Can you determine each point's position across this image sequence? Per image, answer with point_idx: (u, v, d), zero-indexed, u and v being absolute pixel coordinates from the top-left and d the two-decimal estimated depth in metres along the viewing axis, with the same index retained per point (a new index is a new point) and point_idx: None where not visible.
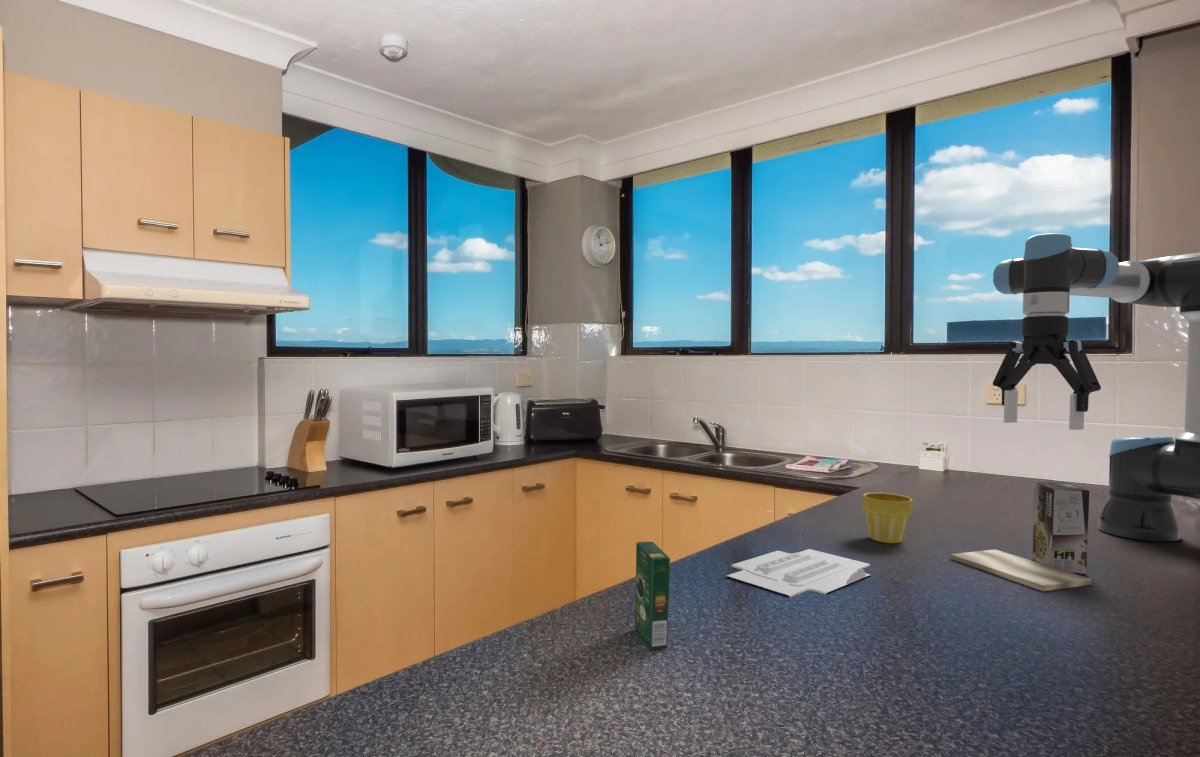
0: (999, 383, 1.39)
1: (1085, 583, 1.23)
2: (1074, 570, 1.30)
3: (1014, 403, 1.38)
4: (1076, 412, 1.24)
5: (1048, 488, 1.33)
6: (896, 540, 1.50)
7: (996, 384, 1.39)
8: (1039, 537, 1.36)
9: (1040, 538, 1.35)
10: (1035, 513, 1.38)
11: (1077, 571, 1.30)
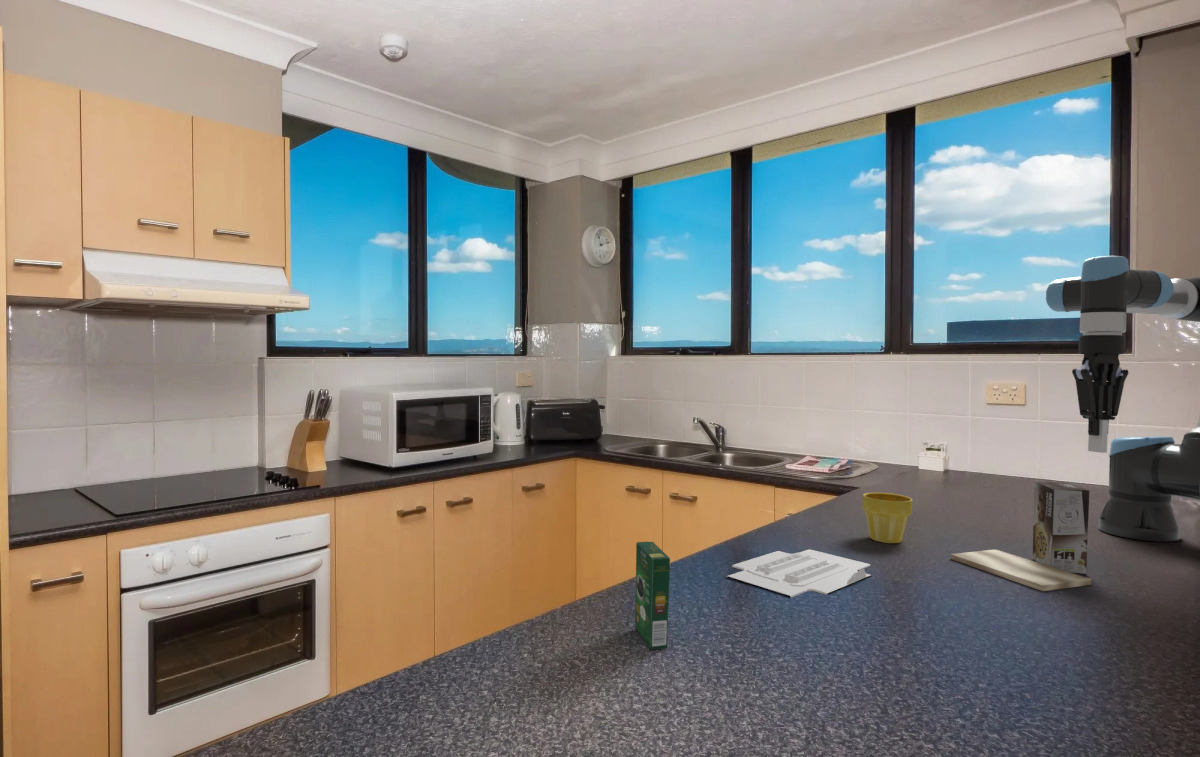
0: (1102, 412, 1.38)
1: (1085, 583, 1.23)
2: (1074, 570, 1.30)
3: None
4: (1092, 435, 1.37)
5: (1048, 488, 1.33)
6: (896, 540, 1.50)
7: None
8: (1039, 537, 1.36)
9: (1040, 538, 1.35)
10: (1035, 513, 1.38)
11: (1077, 571, 1.30)
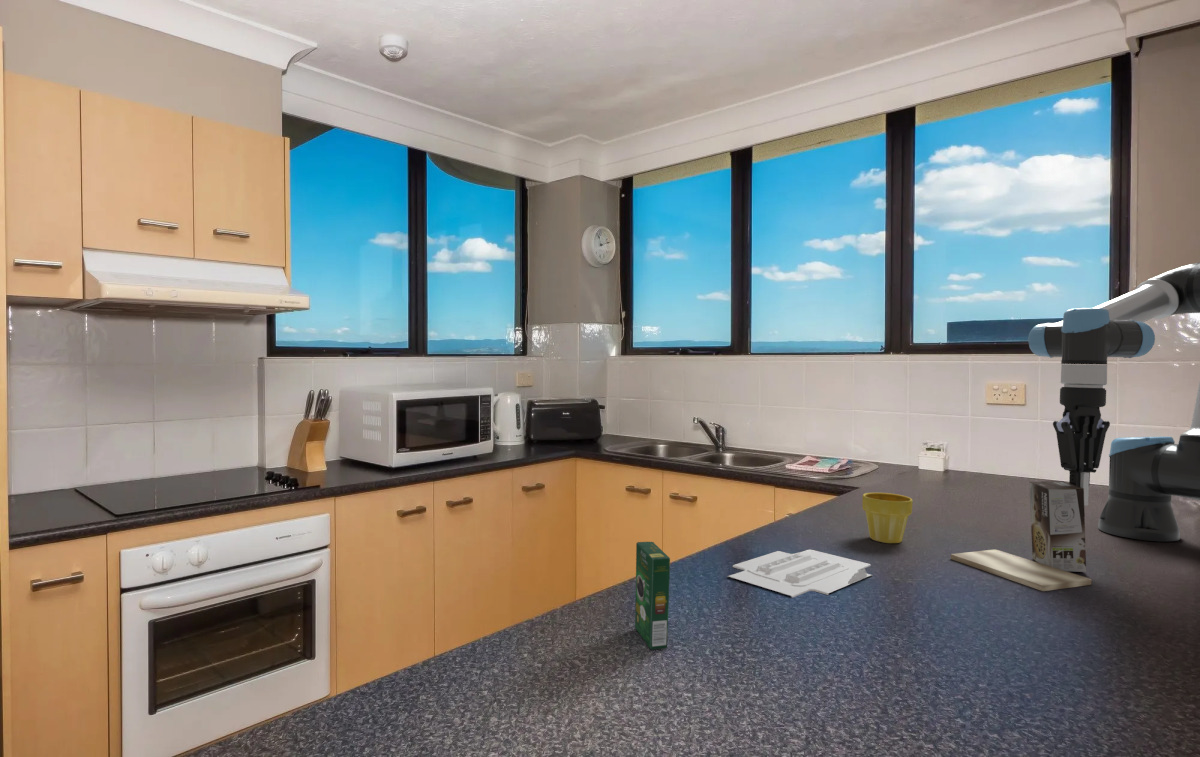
0: (1084, 464, 1.37)
1: (1085, 583, 1.23)
2: (1074, 569, 1.30)
3: None
4: None
5: (1043, 488, 1.33)
6: (896, 540, 1.50)
7: None
8: (1037, 537, 1.36)
9: (1039, 538, 1.35)
10: (1032, 513, 1.38)
11: (1077, 570, 1.30)
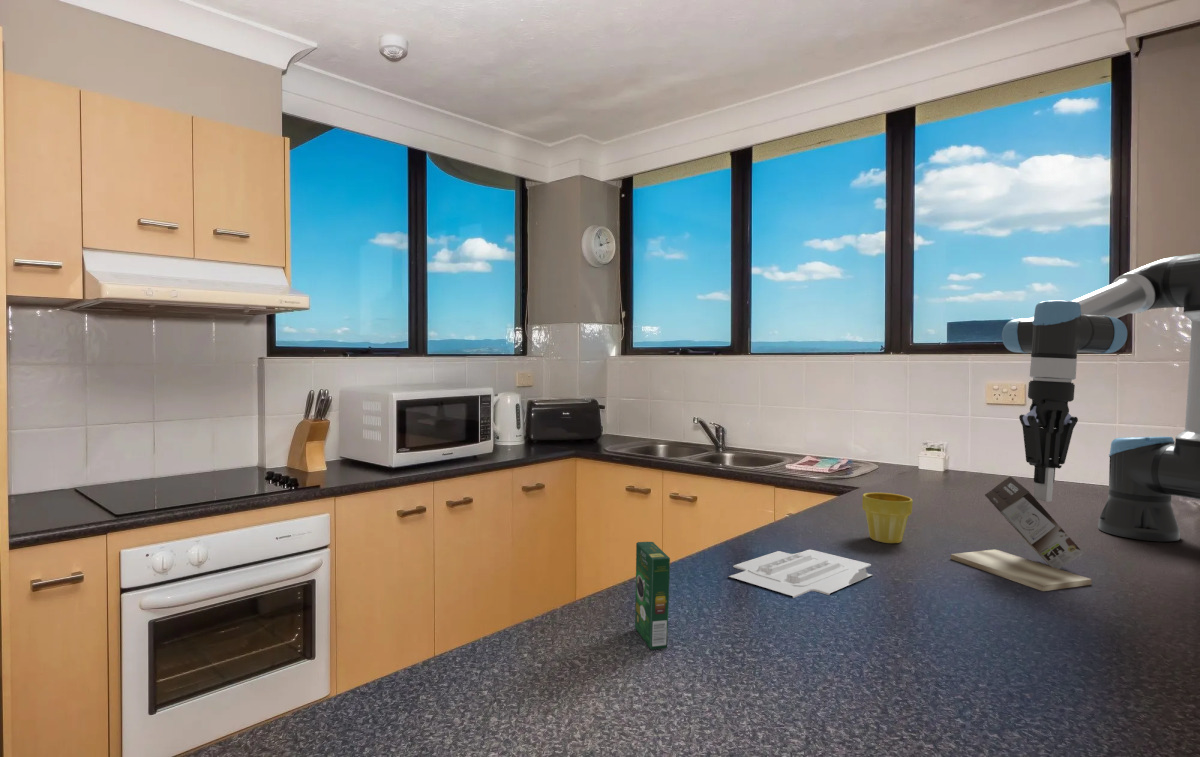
0: None
1: (1085, 583, 1.23)
2: (1072, 558, 1.30)
3: None
4: (1038, 483, 1.34)
5: (997, 507, 1.32)
6: (896, 540, 1.50)
7: None
8: None
9: None
10: None
11: (1075, 557, 1.29)
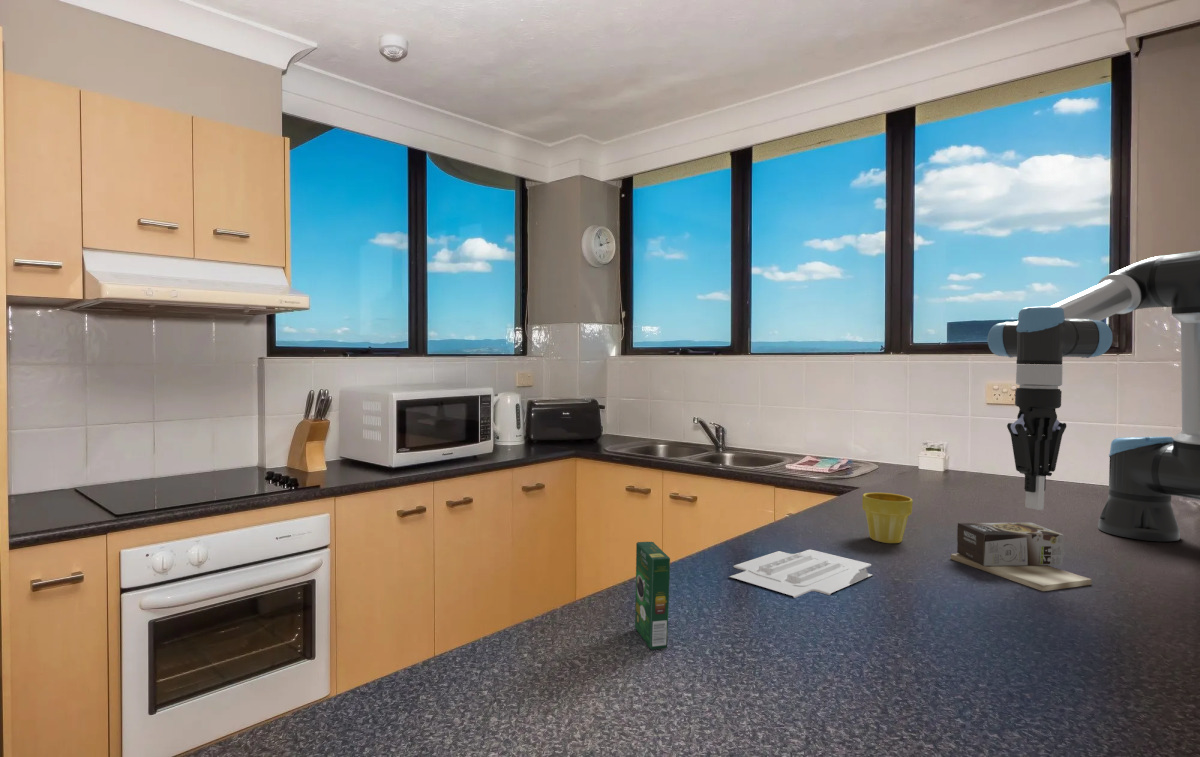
0: None
1: (1085, 583, 1.23)
2: (1061, 545, 1.31)
3: None
4: (1029, 491, 1.32)
5: (977, 562, 1.33)
6: (896, 540, 1.50)
7: None
8: None
9: None
10: None
11: (1062, 543, 1.31)
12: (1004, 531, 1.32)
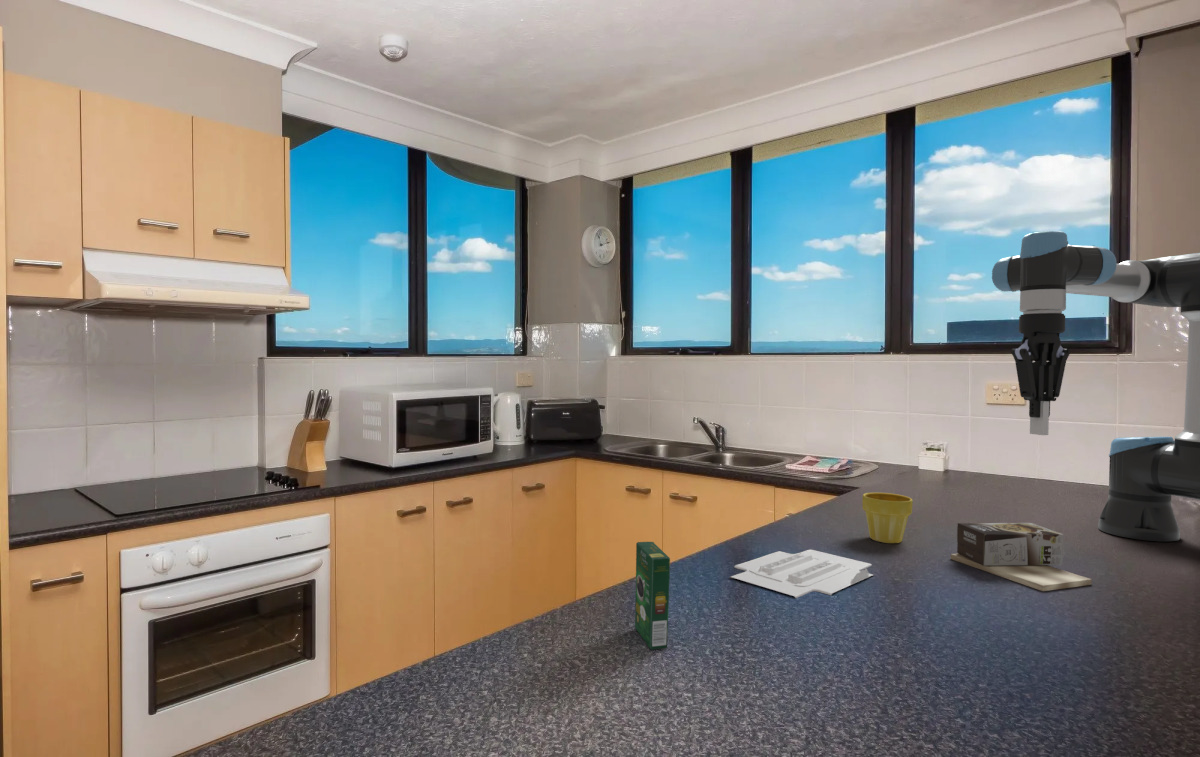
0: None
1: (1085, 583, 1.23)
2: (1061, 545, 1.31)
3: None
4: (1033, 417, 1.33)
5: None
6: (896, 540, 1.50)
7: None
8: None
9: None
10: None
11: (1062, 542, 1.31)
12: (1004, 531, 1.32)
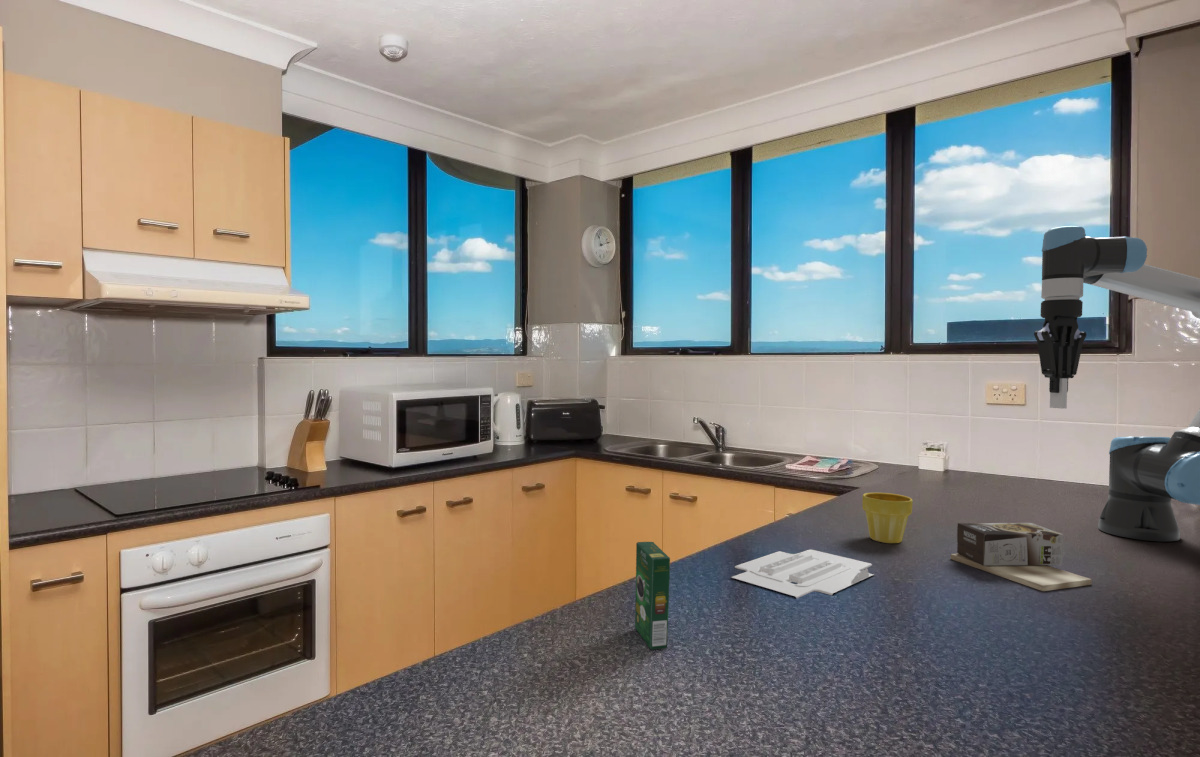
0: None
1: (1085, 583, 1.23)
2: (1061, 545, 1.31)
3: None
4: (1053, 393, 1.48)
5: None
6: (896, 540, 1.50)
7: None
8: None
9: None
10: None
11: (1062, 542, 1.31)
12: (1004, 531, 1.32)
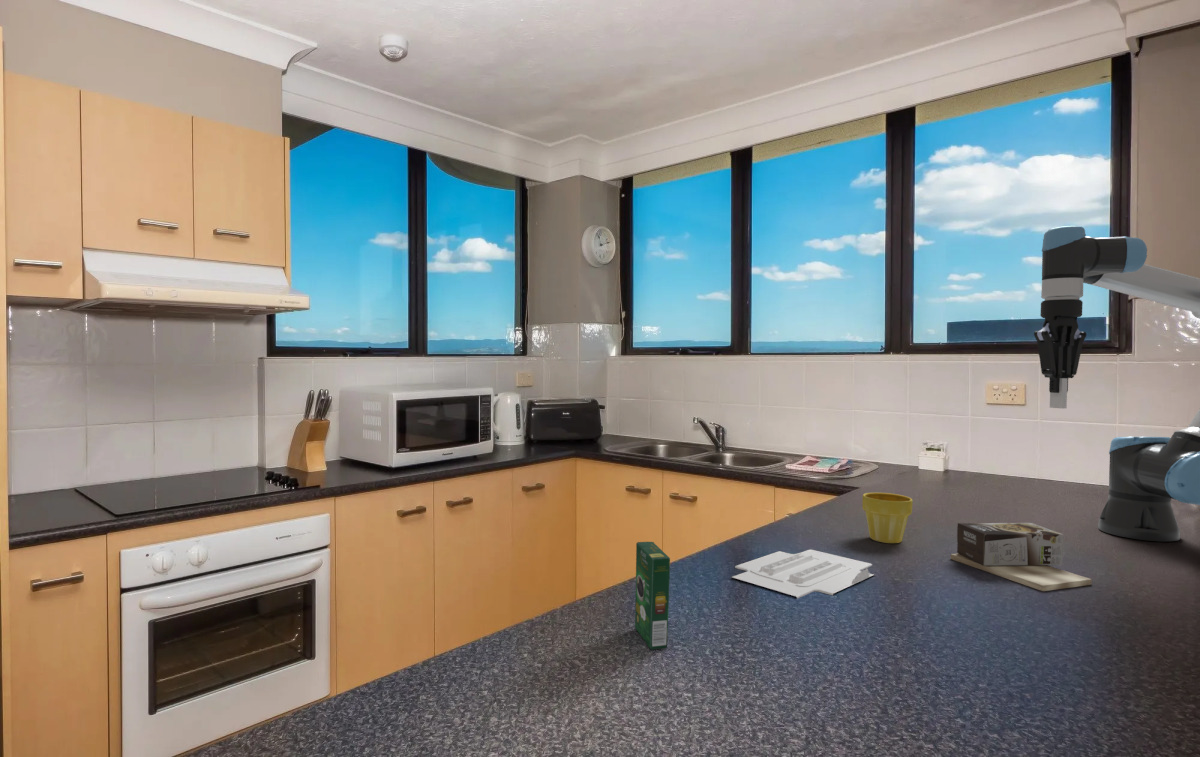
0: None
1: (1085, 583, 1.23)
2: (1061, 545, 1.31)
3: None
4: (1053, 393, 1.48)
5: None
6: (896, 540, 1.50)
7: None
8: None
9: None
10: None
11: (1062, 542, 1.31)
12: (1004, 531, 1.32)
